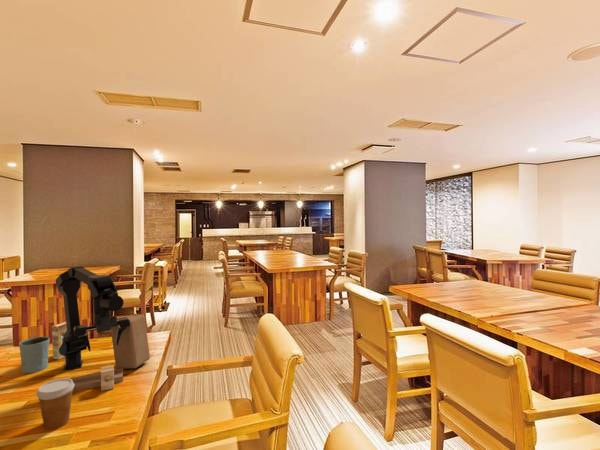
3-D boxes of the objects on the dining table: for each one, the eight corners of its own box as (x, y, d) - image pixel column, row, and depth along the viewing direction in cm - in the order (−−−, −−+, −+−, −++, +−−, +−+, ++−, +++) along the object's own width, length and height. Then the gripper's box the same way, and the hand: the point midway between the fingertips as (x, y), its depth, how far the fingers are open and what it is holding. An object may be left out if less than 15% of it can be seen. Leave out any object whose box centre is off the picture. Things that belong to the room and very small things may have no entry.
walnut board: (54, 386, 125) (54, 381, 125) (123, 372, 136) (123, 368, 136) (50, 396, 118) (49, 390, 118) (122, 381, 129) (122, 376, 129)
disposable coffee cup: (69, 410, 110) (68, 374, 109) (79, 421, 103) (78, 384, 103) (33, 424, 102) (32, 386, 102) (42, 437, 96) (41, 396, 96)
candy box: (59, 360, 148) (58, 326, 148) (52, 359, 149) (51, 325, 149) (77, 352, 157) (76, 320, 156) (70, 351, 158) (69, 319, 158)
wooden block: (135, 369, 136) (129, 321, 136) (115, 370, 138) (108, 322, 138) (151, 358, 146) (145, 314, 146) (131, 360, 148) (125, 315, 148)
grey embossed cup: (16, 376, 133) (15, 346, 133) (23, 366, 142) (22, 338, 142) (47, 370, 138) (47, 342, 138) (52, 361, 147) (52, 334, 147)
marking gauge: (103, 376, 132) (103, 359, 132) (114, 374, 134) (114, 357, 134) (100, 392, 120) (100, 373, 120) (113, 389, 122) (113, 371, 122)
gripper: (73, 317, 118) (75, 361, 118) (131, 307, 129) (133, 347, 129) (72, 311, 127) (74, 352, 127) (127, 303, 138) (128, 340, 138)
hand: (103, 348), depth 130 cm, fingers open, 9 cm apart
